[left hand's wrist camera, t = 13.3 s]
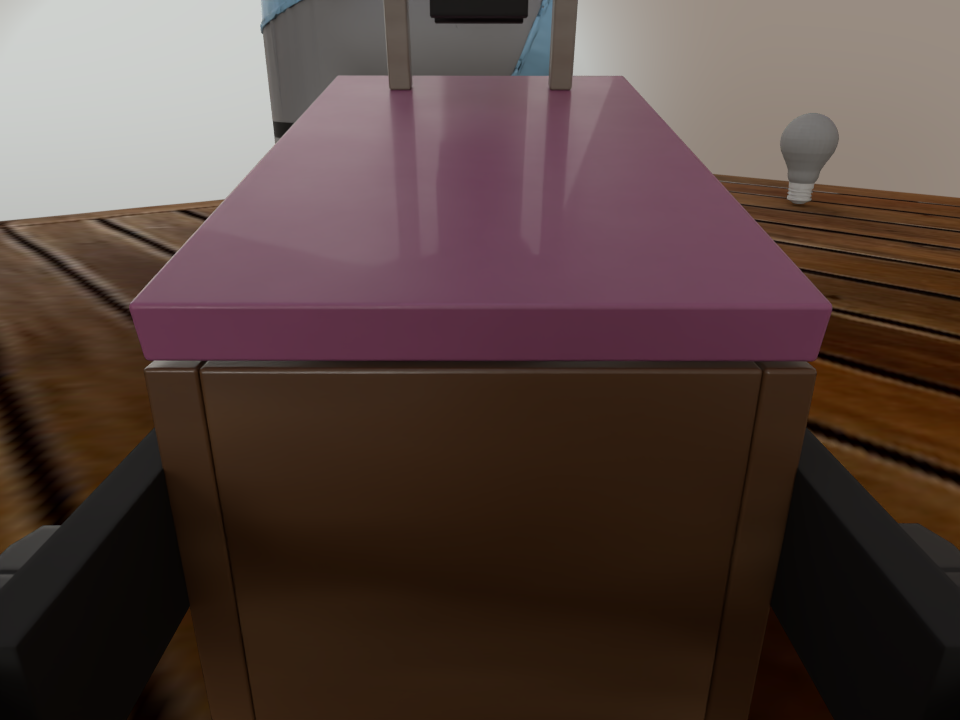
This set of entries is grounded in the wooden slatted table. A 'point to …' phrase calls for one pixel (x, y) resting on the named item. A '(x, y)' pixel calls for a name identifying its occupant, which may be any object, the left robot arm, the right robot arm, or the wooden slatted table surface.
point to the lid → (480, 233)
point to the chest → (480, 533)
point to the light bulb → (807, 152)
